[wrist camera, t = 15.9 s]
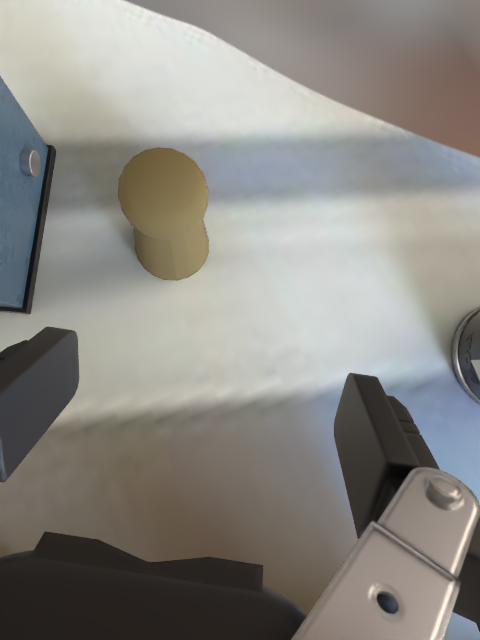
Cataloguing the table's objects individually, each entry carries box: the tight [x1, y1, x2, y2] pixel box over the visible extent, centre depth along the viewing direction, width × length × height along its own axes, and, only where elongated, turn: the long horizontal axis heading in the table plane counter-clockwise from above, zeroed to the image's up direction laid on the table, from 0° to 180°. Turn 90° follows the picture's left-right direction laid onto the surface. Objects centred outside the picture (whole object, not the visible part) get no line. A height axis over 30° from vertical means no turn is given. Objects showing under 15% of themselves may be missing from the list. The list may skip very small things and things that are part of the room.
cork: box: [118, 148, 209, 280], centre depth 26 cm, size 6×6×11 cm
